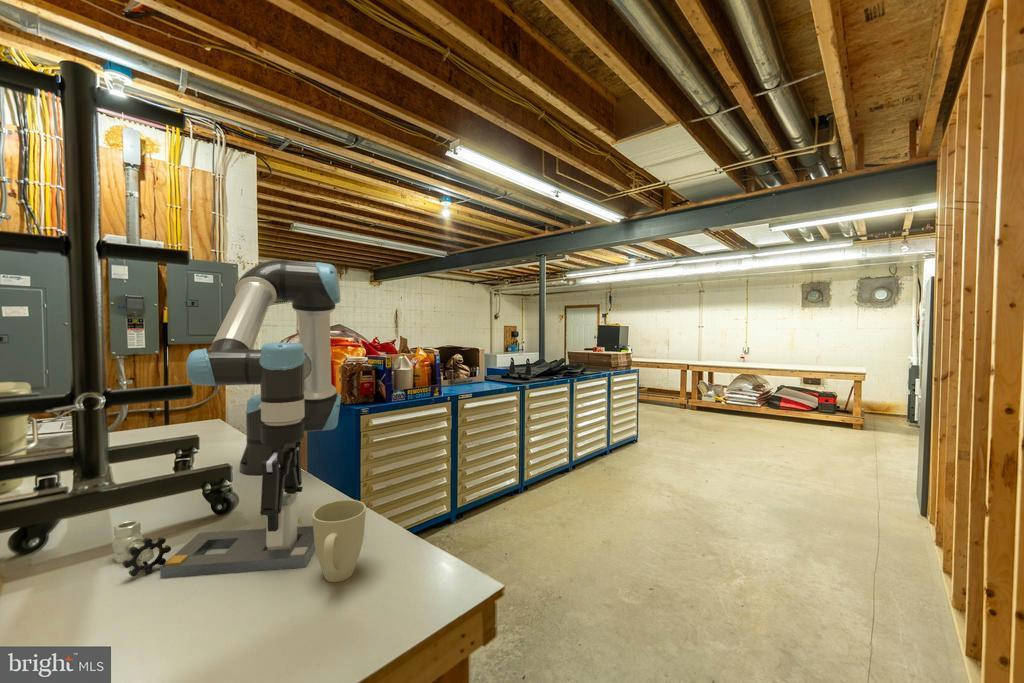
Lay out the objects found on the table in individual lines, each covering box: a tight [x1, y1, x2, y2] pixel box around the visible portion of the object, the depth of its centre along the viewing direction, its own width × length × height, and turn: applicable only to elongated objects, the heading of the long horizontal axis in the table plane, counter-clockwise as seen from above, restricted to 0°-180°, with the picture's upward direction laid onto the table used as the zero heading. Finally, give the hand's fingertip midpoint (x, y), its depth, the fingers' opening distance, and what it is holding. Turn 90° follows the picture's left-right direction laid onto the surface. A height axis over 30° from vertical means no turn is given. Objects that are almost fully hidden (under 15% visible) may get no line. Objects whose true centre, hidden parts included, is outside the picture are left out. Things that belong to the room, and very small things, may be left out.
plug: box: [268, 495, 298, 550], centre depth 81 cm, size 4×4×11 cm
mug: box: [312, 499, 367, 583], centre depth 73 cm, size 11×10×12 cm
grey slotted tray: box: [159, 525, 316, 579], centre depth 80 cm, size 12×24×2 cm, turn 100°
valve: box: [111, 519, 172, 577], centre depth 76 cm, size 7×7×12 cm
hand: (282, 534), depth 81 cm, fingers open, 7 cm apart
